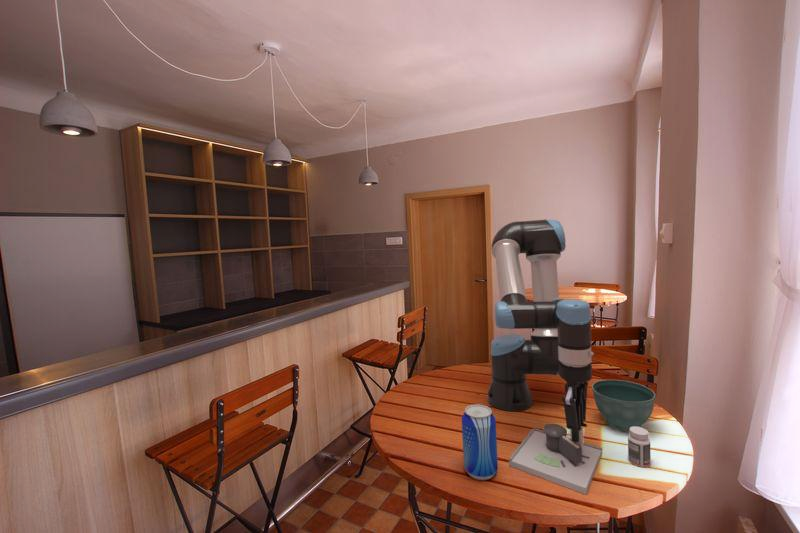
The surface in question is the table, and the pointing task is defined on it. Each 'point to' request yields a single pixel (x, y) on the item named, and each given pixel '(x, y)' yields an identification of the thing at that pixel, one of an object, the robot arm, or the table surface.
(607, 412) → the flower pot
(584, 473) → the tuner board
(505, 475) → the table surface
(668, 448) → the table surface
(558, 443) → the tuner knob
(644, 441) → the pill bottle
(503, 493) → the table surface
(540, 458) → the green curved panel
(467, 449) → the beer can
